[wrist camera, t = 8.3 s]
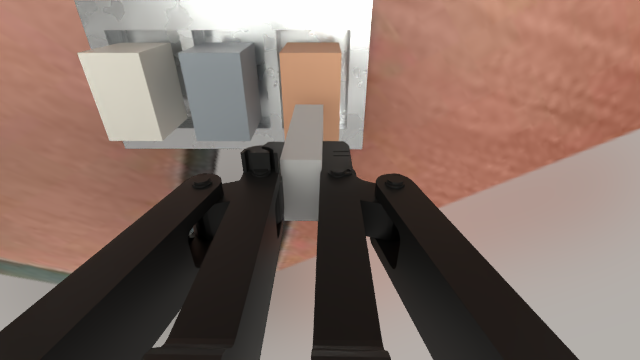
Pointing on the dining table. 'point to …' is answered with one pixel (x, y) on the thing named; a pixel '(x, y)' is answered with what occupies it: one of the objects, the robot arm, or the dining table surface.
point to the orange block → (312, 82)
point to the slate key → (222, 90)
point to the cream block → (135, 90)
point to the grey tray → (244, 26)
